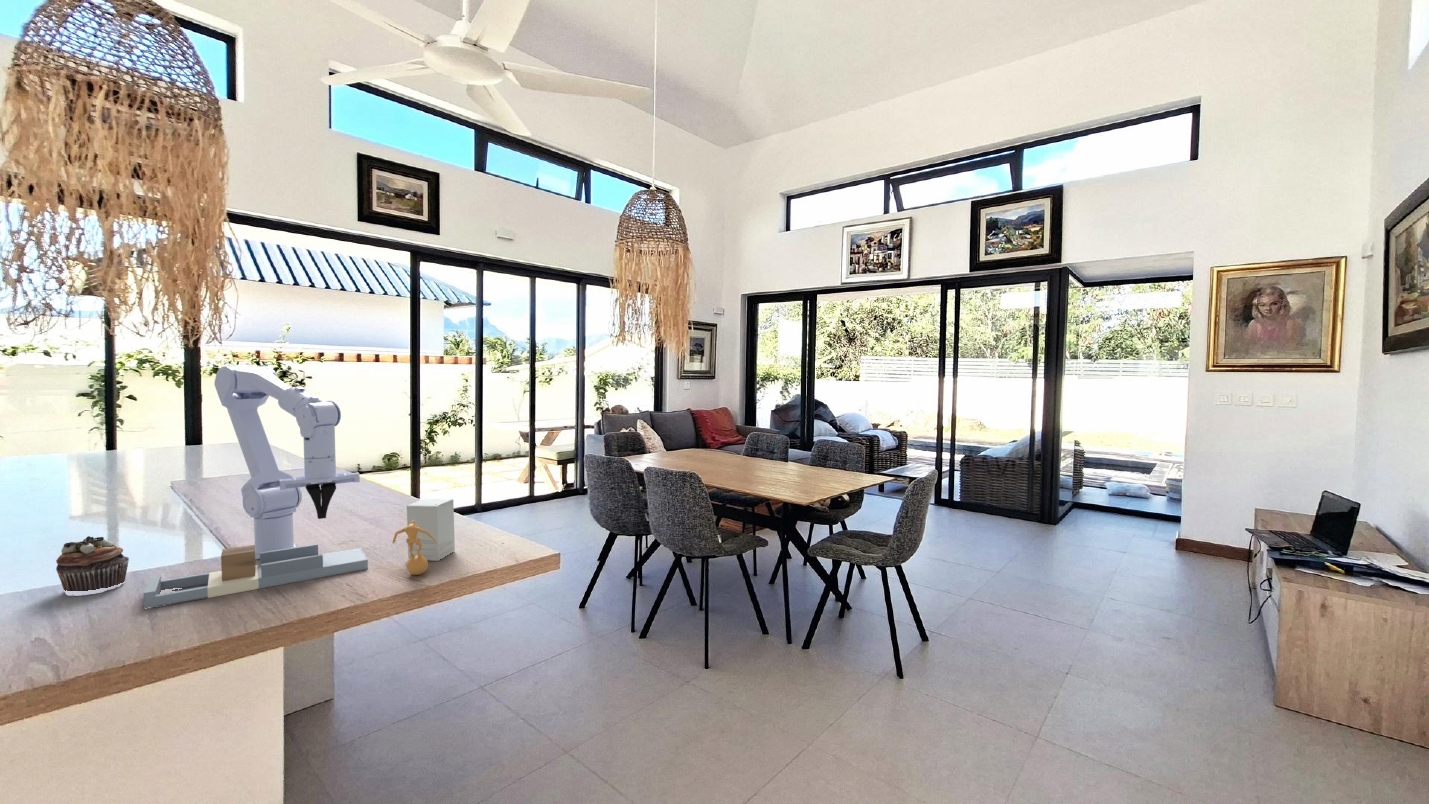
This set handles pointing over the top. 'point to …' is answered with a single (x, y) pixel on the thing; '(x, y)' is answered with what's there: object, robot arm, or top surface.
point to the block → (238, 562)
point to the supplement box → (433, 527)
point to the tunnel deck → (257, 575)
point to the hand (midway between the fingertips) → (321, 517)
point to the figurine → (418, 562)
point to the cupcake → (91, 565)
